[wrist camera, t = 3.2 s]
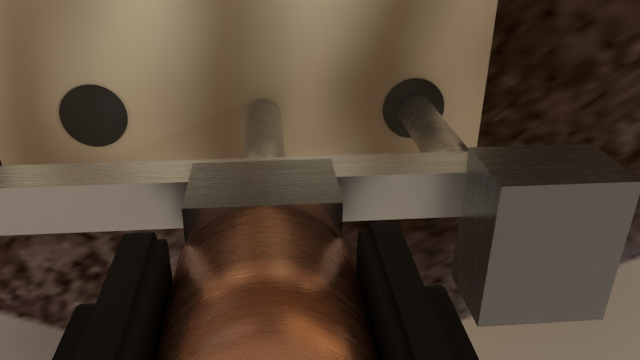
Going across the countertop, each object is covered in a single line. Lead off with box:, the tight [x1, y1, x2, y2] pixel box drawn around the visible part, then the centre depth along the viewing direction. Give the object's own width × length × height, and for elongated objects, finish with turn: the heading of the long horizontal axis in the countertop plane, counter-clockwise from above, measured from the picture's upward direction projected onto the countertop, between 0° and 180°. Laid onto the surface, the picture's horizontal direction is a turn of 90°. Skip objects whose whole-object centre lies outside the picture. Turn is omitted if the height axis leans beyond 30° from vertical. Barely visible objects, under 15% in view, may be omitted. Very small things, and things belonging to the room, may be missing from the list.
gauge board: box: [0, 0, 498, 166], centre depth 22 cm, size 20×12×2 cm, turn 90°
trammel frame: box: [0, 93, 640, 327], centre depth 17 cm, size 18×4×12 cm, turn 90°
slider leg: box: [156, 99, 378, 360], centre depth 15 cm, size 4×4×18 cm
